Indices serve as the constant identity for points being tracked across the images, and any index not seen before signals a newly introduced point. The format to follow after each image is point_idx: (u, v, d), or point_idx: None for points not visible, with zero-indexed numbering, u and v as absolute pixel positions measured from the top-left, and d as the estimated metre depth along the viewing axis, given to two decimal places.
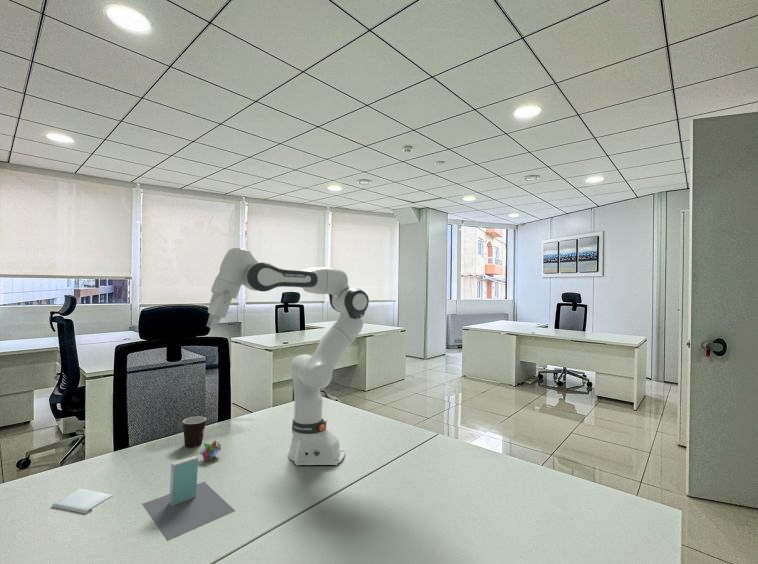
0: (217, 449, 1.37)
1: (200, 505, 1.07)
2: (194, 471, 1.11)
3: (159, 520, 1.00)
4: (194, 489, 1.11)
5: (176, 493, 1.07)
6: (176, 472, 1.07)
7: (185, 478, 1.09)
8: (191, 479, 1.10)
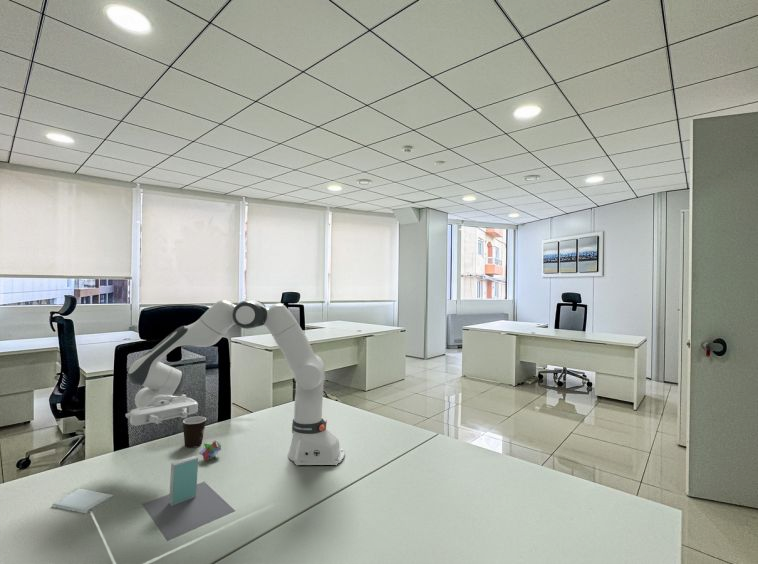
0: (217, 449, 1.37)
1: (200, 505, 1.07)
2: (194, 471, 1.11)
3: (159, 520, 1.00)
4: (194, 489, 1.11)
5: (176, 493, 1.07)
6: (176, 472, 1.07)
7: (185, 478, 1.09)
8: (191, 479, 1.10)
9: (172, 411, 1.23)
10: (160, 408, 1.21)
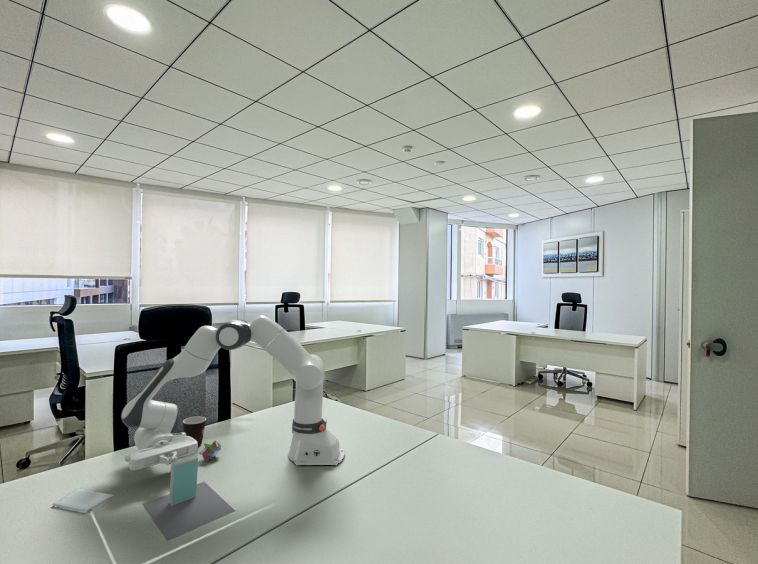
0: (217, 449, 1.37)
1: (200, 505, 1.07)
2: (194, 471, 1.11)
3: (159, 520, 1.00)
4: (194, 489, 1.11)
5: (176, 493, 1.07)
6: (176, 472, 1.07)
7: (185, 478, 1.09)
8: (191, 479, 1.10)
9: None
10: (159, 450, 1.20)
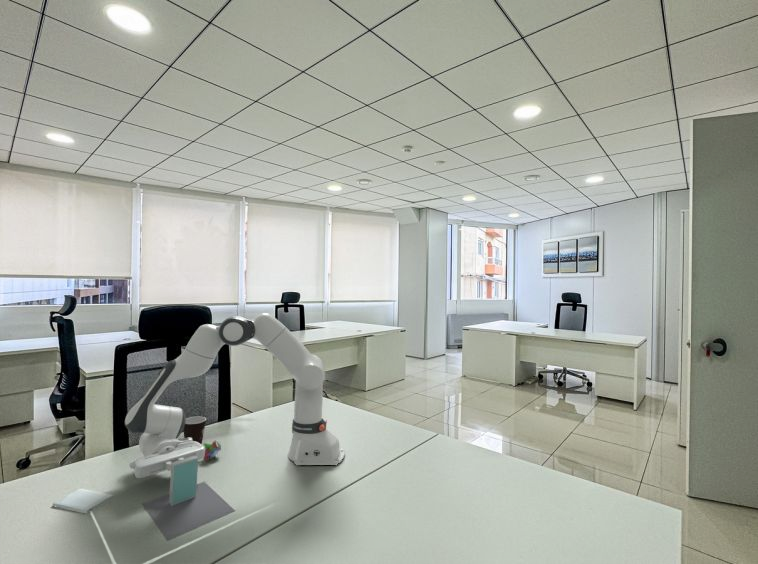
0: (217, 449, 1.37)
1: (200, 505, 1.07)
2: (194, 471, 1.11)
3: (159, 520, 1.00)
4: (194, 489, 1.11)
5: (176, 493, 1.07)
6: (176, 472, 1.07)
7: (185, 478, 1.09)
8: (191, 479, 1.10)
9: None
10: (166, 456, 1.16)
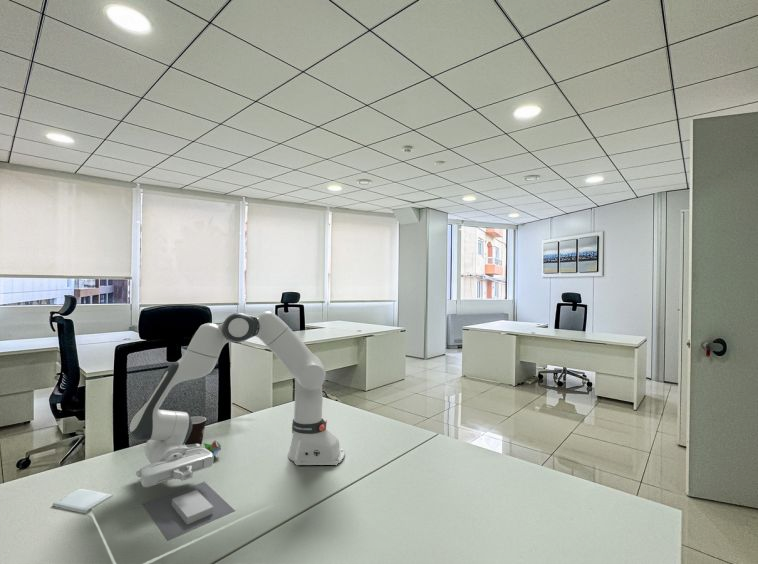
0: (217, 449, 1.37)
1: None
2: None
3: (159, 520, 1.00)
4: None
5: None
6: None
7: None
8: None
9: None
10: (173, 464, 1.11)
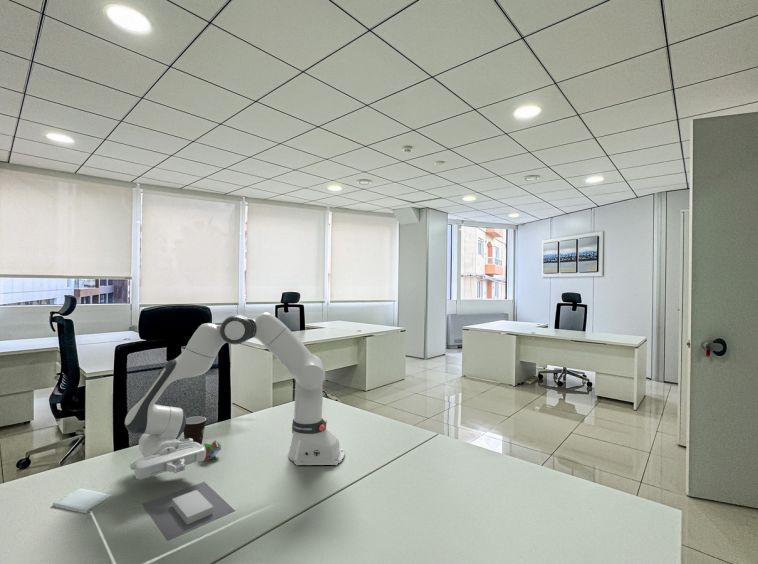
0: (217, 449, 1.37)
1: None
2: None
3: (159, 520, 1.00)
4: None
5: None
6: None
7: None
8: None
9: None
10: (166, 457, 1.15)
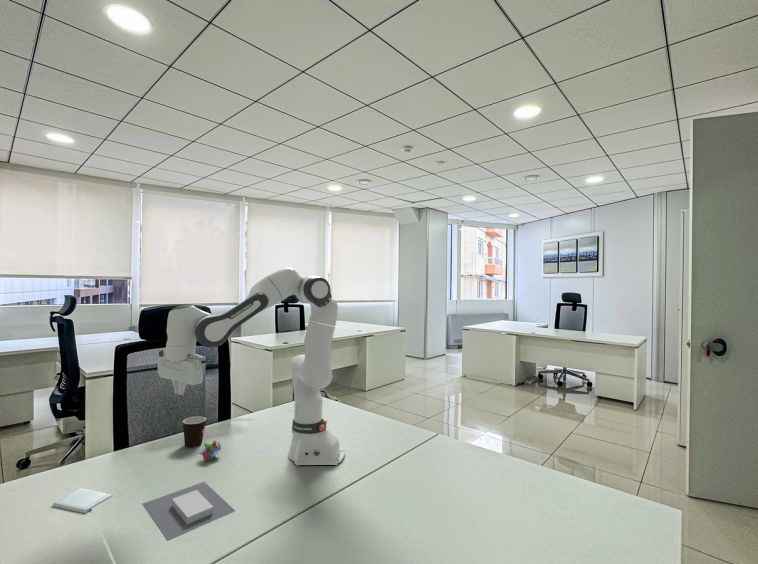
0: (217, 449, 1.37)
1: None
2: None
3: (159, 520, 1.00)
4: None
5: None
6: None
7: None
8: None
9: None
10: None
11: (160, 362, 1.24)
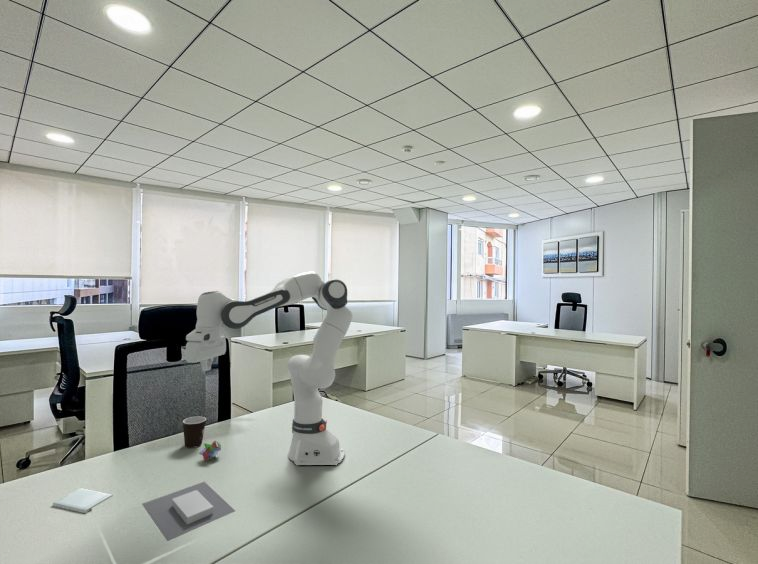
0: (217, 449, 1.37)
1: None
2: None
3: (159, 520, 1.00)
4: None
5: None
6: None
7: None
8: None
9: None
10: None
11: (199, 347, 1.27)
